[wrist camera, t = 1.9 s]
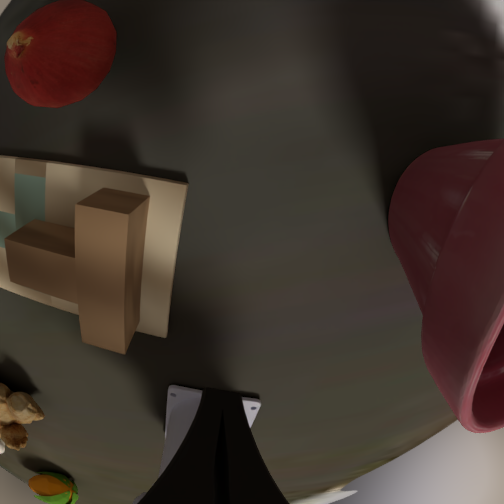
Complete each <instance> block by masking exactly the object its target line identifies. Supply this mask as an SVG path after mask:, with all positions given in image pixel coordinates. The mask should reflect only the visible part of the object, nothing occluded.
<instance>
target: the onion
mask: <svg viewBox="0 0 504 504" xmlns="http://www.w3.org/2000/svg"><path fill="white" fill-rule="evenodd" d="M116 36H117V32H116V30H115V28H114V26H113V24H112V21H111V19H110V17H109V16H108V14H107V12H106V11H104V10H103V9H101V8H99V7H97V6H96V5H94V4H92V3H89V2H87V1H84V0H59V1H56V2H53V3H51V4H48V5H46V6H44V7H42V8H39V9H37V10H36V11H35V12H33V13H32V14H31V15H30V16H29V17H27V18H26V19H25V20H24V21H23V22H21V23H20V24H19V25H18V26H17V28H16V29H15V31H14V33H13V34H12V36H11V37H10V39H9V40H8V42H7V49H6V53H5V57H4V59H5V71H6V74H7V77H8V79H9V82H10V84H11V87H12V89H13V91H14V92H15V93H16V94H17V95H18V96H19V97H20V98H22V99H23V100H24V101H26V102H27V103H28V104H31V105H33V106H40V107H52V108H59V107H62V106H65V105H68V104H72V103H75V102H78V101H81V100H82V99H84V98H85V97H86V96H88V95H89V94H90V93H91V92H93V91H94V90H95V89H97V88H98V86H99V85H100V83H101V82H102V81H103V79H104V78H105V77H106V75H107V74H108V73H109V71H110V69H111V65H112V62H113V59H114V56H115V53H116Z"/></svg>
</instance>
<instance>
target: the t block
mask: <svg viewBox="0 0 504 504" xmlns="http://www.w3.org/2000/svg"><path fill="white" fill-rule="evenodd" d="M149 201H150V196H148V195H142V194H137V193H132V192H126V191H121V190H115V189H110V188H102V189H100V190H98V191H97V192H95V193H93V194H91V195H90V196H88V197H86V198H85V199H83V200H81V201H80V202H78V203H76V204H75V228H71V227H67V226H63V225H58V224H54V223H50V222H45V221H41V220H37V219H34V220H32V221H31V222H29V223H27V224H26V225H24V226H23V227H21V228H20V229H18V230H17V231H15V232H13V233H12V234H10V235H9V236H7V237H6V238H5V239H4V241H5V250H6V258H7V265H8V271H9V277H10V282H13V283H15V284H18V285H21V286H24V287H27V288H29V289H32V290H35V291H38V292H41V293H44V294H47V295H50V296H53V297H56V298H59V299H63V300H66V301H69V302H72V303H75V304H78V311H79V320H80V328H81V336H82V342H84V343H87V344H90V345H94V346H97V347H100V348H104V349H107V350H110V351H114V352H117V353H121V354H125V353H126V351H127V349H128V346H129V344H130V342H131V340H132V337H133V335H134V333H135V331H136V328H137V326H138V324H139V322H140V300H141V282H142V268H143V256H144V245H145V235H146V226H147V217H148V209H149Z"/></svg>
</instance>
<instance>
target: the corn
mask: <svg viewBox="0 0 504 504" xmlns="http://www.w3.org/2000/svg"><path fill="white" fill-rule="evenodd" d="M36 473H43V474H41V475H37V476H34V477H32V478H31V479H29V487H30V488H31V489H32V490H33V491H34V492H36V493H37V494H39V495H40V496H35V495H34V497H36V498H38V499H40V500H42V501H44V502H46V503H50V504H74V503H75V502H76V501H77V499H78V495H77V494H78V489H77V486H76V484H75V483H74V481H73V480H72V481H69V480H68V478H67V477H66V476H65V475H62V474H59V473H54V472H36Z"/></svg>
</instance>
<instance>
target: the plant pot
mask: <svg viewBox="0 0 504 504" xmlns="http://www.w3.org/2000/svg"><path fill="white" fill-rule="evenodd" d="M388 225H389V235H390V240H391V243H392V246H393V248H394V251H395V253H396V255H397V256H398V258H399V260H400V262H401V264H402V267H403V269H404V271H405V273H406V276H407V278H408V281H409V283H410V285H411V288H412V290H413V292H414V295H415V297H416V300H417V302H418V304H419V307H420V309H421V312H422V314H423V320H422V331H421V340H422V352H423V356H424V360H425V363H426V366H427V369H428V371H429V373H430V374H431V376H432V378H433V379H434V381H435V383H436V385H437V386H438V388H439V390H440V392H441V393H442V395H443V396H444V398H445V399H446V401H447V403H448V404H449V406H450V408H451V409H452V411H453V412H454V414H455V415H456V417H457V419H458V420H459V421H460V423H461V425H462V426H463V427H464V428H465V429H467V430H469V431H471V432H474V433H485V432H491V431H494V430H497V429H500V428H503V427H504V139H492V140H482V141H474V142H468V143H462V144H456V145H451V146H444V147H438V148H434V149H431V150H429V151H427V152H425V153H423V154H422V155H420V156H419V157H418V158H416V159H415V160H414V161H413V162H412V163H411V164H410V165H409V166H408V167H407V168H406V170H405V171H404V173H403V174H402V175H401V177H400V179H399V181H398V183H397V185H396V187H395V190H394V192H393V195H392V198H391V203H390V208H389V217H388Z"/></svg>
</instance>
